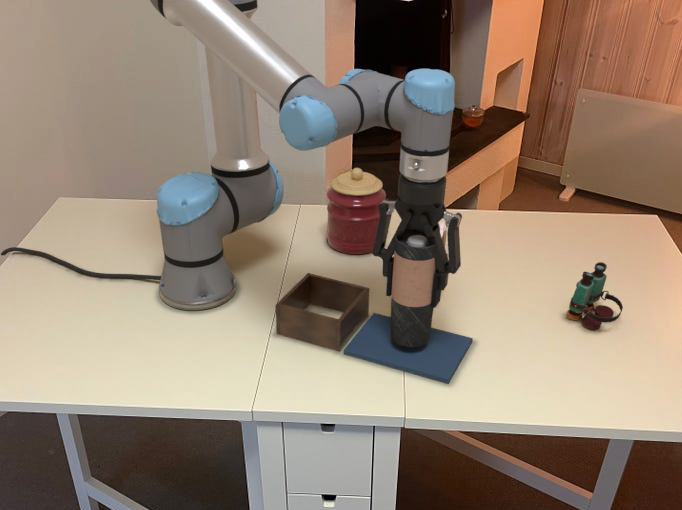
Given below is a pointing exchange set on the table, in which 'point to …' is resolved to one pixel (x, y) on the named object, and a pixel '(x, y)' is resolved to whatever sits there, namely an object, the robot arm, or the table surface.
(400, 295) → the travel mug
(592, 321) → the binoculars
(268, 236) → the table surface
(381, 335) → the mat
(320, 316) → the cube shelf
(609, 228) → the table surface
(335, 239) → the kitchen canister
